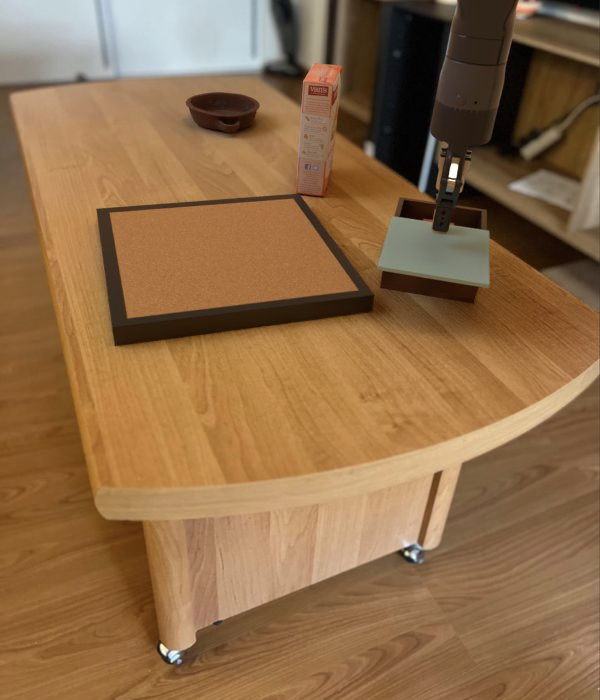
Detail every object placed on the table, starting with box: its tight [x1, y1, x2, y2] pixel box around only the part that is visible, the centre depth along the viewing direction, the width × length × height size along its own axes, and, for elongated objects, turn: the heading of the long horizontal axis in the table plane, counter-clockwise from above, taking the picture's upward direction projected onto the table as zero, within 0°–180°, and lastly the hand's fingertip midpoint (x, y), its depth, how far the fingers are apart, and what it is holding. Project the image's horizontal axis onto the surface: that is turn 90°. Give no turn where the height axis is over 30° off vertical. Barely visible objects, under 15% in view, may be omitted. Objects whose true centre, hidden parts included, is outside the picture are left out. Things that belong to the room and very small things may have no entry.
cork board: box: [95, 193, 375, 347], centre depth 97 cm, size 36×3×35 cm
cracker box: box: [295, 62, 343, 198], centre depth 120 cm, size 14×6×21 cm, turn 171°
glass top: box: [376, 209, 491, 289], centre depth 87 cm, size 14×16×4 cm
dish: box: [185, 91, 261, 134], centre depth 151 cm, size 18×22×5 cm
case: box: [379, 196, 488, 304], centre depth 98 cm, size 14×16×8 cm
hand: (440, 229), depth 87 cm, fingers closed
